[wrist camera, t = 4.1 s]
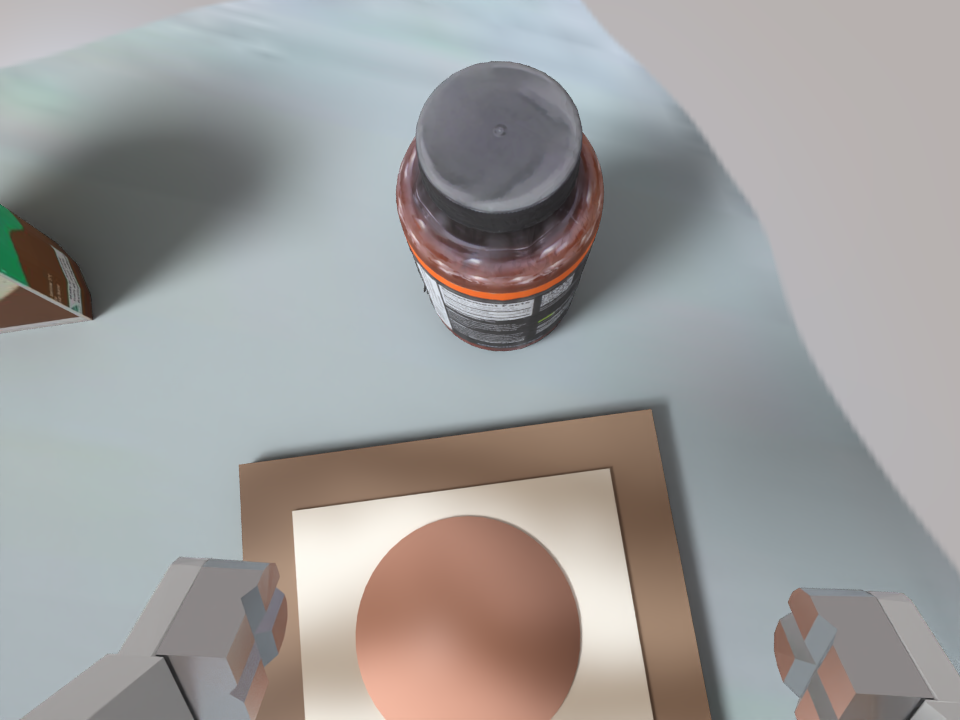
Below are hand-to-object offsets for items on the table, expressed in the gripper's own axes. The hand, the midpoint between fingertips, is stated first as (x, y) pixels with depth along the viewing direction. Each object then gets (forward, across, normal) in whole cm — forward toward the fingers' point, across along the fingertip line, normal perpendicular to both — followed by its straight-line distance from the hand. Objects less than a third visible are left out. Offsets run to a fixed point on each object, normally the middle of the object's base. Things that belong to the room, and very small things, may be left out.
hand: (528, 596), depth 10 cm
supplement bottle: (+17, +1, +3) cm, 17 cm away
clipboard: (+6, +1, +14) cm, 15 cm away
